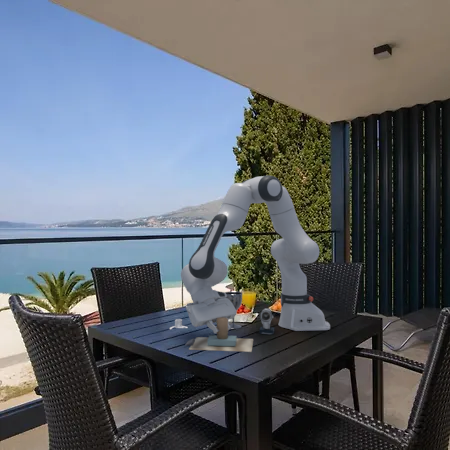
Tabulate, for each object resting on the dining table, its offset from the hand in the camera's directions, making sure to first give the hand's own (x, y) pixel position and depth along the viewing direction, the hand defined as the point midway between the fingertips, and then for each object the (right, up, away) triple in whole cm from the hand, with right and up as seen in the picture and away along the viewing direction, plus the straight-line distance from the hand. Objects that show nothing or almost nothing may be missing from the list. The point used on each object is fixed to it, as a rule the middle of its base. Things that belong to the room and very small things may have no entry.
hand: (222, 331), depth 139 cm
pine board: (0, -6, 0) cm, 6 cm away
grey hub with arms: (-22, -7, +26) cm, 35 cm away
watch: (+18, -7, +15) cm, 24 cm away
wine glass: (+4, -7, +30) cm, 31 cm away
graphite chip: (-12, -6, +1) cm, 14 cm away
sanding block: (0, -5, 0) cm, 5 cm away
